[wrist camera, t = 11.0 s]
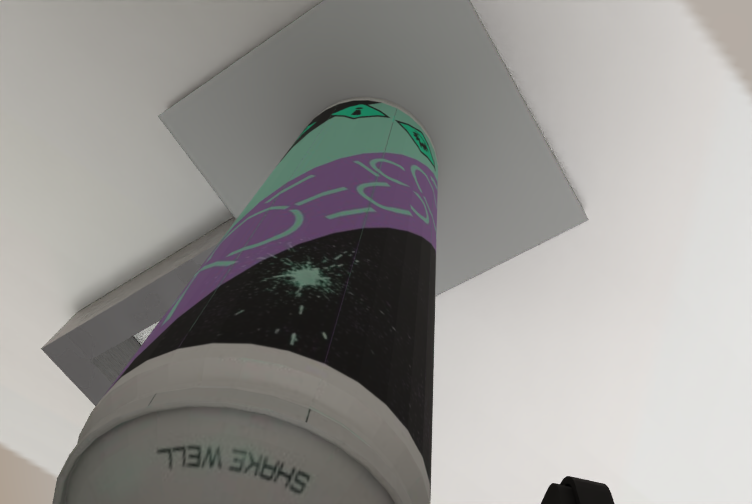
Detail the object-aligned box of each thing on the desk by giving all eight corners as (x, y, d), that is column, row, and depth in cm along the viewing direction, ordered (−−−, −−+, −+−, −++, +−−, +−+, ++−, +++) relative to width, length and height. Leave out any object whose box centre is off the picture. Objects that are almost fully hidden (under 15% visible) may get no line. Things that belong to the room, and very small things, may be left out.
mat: (167, 109, 26) (158, 116, 25) (429, -74, 22) (429, -74, 21) (336, 335, 30) (333, 347, 29) (583, 210, 26) (588, 219, 25)
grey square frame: (76, 312, 30) (40, 348, 28) (243, 211, 27) (221, 240, 25) (209, 459, 34) (188, 504, 31) (371, 382, 31) (364, 425, 28)
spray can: (462, 196, 25) (512, 831, 7) (341, 254, 27) (130, 896, 9) (395, 68, 23) (231, 486, 5) (269, 138, 25) (-187, 645, 7)
